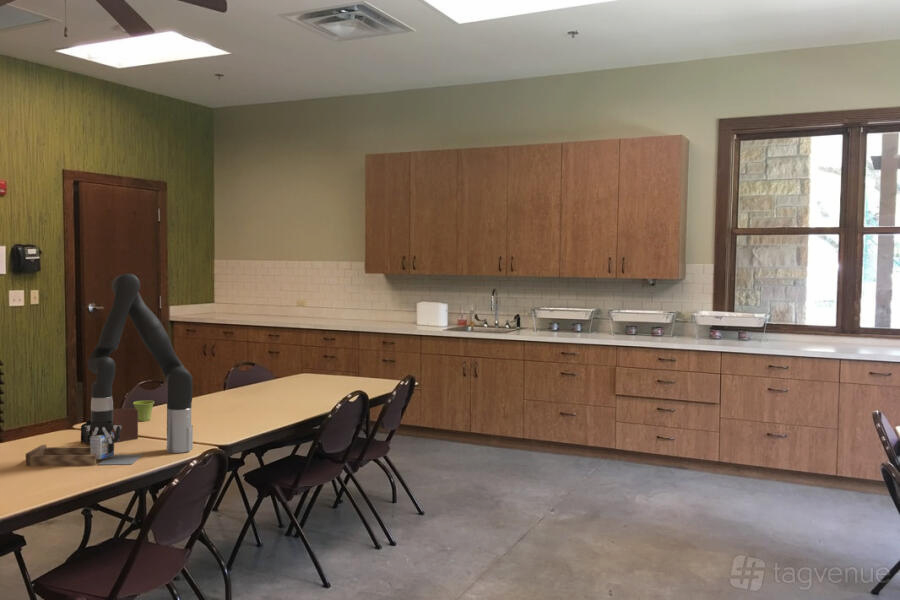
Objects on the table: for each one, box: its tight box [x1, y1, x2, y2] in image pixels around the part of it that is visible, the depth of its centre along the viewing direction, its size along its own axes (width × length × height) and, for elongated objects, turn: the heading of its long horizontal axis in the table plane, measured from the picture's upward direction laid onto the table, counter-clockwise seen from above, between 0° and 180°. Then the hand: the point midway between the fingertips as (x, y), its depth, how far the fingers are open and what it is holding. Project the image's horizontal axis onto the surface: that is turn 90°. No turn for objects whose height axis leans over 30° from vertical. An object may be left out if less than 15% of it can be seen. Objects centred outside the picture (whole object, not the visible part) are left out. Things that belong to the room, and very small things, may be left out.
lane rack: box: [25, 444, 97, 467], centre depth 277 cm, size 24×14×4 cm, turn 97°
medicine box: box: [89, 432, 115, 460], centre depth 279 cm, size 8×4×9 cm, turn 168°
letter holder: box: [80, 407, 139, 447], centre depth 310 cm, size 10×20×14 cm, turn 141°
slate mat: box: [97, 454, 144, 466], centre depth 279 cm, size 12×14×1 cm
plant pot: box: [132, 400, 155, 422], centre depth 352 cm, size 9×9×9 cm
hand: (102, 452), depth 279 cm, fingers closed on medicine box, 5 cm apart
